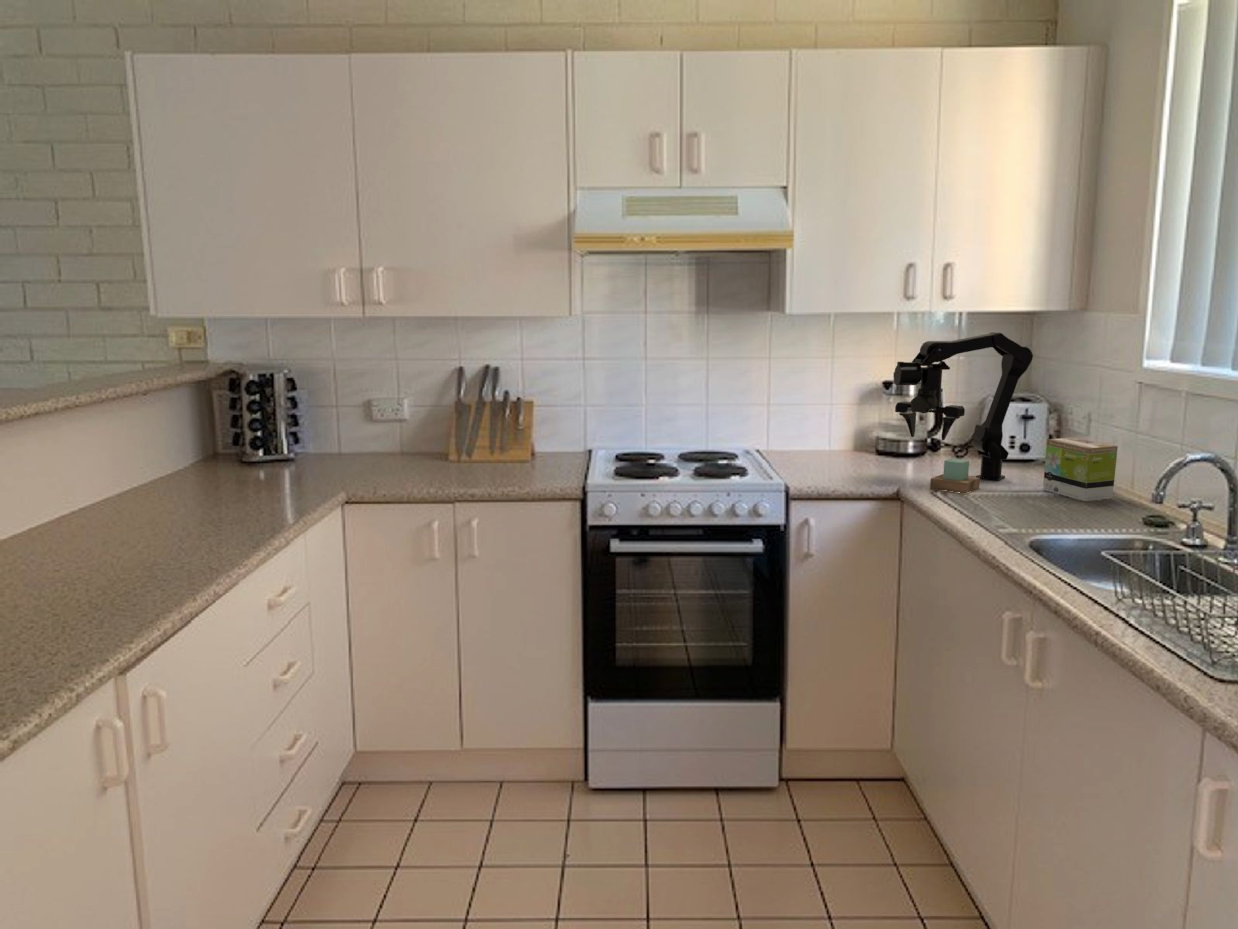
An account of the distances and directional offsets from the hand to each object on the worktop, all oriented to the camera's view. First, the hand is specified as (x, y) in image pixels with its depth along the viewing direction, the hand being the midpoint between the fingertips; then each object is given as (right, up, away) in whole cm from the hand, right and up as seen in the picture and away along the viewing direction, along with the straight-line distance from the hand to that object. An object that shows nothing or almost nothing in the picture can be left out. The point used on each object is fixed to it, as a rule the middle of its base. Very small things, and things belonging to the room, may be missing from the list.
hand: (927, 438), depth 269 cm
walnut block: (+4, -15, -11) cm, 19 cm away
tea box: (+34, -16, -19) cm, 42 cm away
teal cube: (+4, -11, -12) cm, 17 cm away
